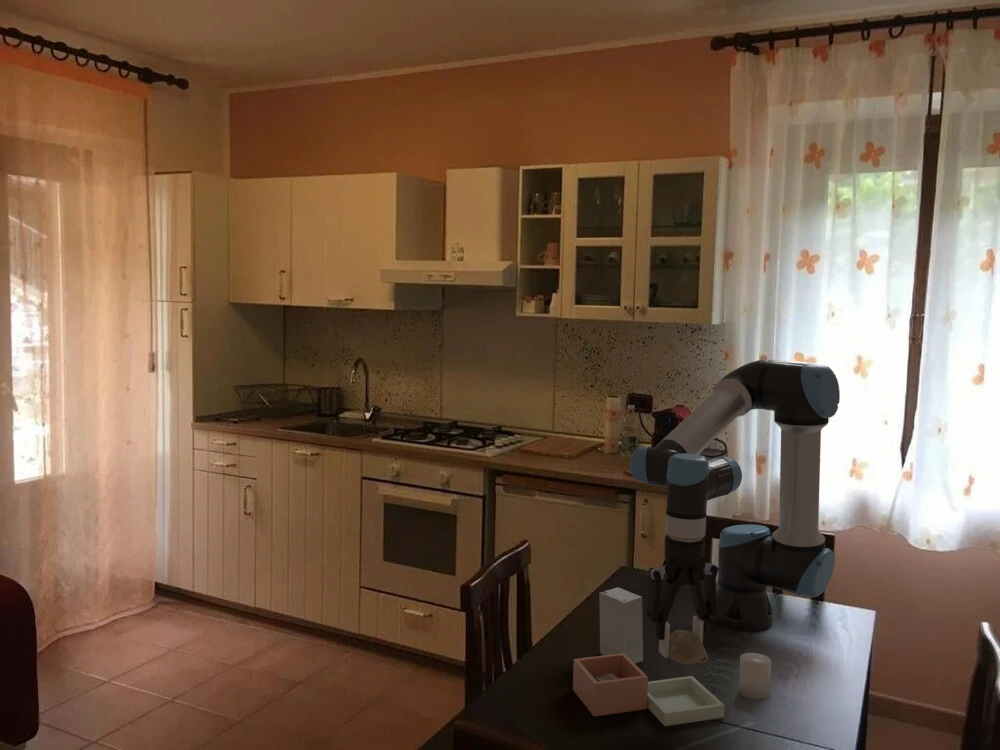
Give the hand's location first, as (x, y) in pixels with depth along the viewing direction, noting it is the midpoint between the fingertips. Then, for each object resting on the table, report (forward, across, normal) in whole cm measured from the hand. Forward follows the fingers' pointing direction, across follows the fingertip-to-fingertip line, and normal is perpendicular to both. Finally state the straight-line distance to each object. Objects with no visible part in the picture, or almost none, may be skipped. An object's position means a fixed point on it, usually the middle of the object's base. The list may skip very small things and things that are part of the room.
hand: (680, 652), depth 165 cm
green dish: (+11, 0, 0) cm, 11 cm away
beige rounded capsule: (+11, -18, -2) cm, 21 cm away
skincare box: (+12, +2, -23) cm, 26 cm away
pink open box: (+11, +12, -6) cm, 18 cm away
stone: (0, 0, +2) cm, 2 cm away
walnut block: (+11, +12, -6) cm, 17 cm away
